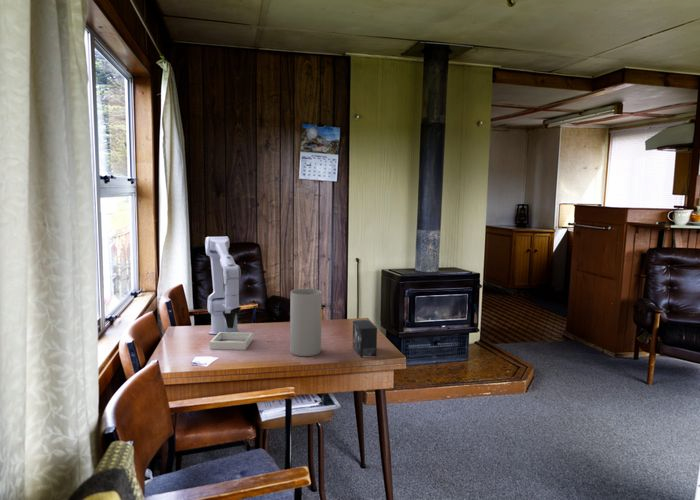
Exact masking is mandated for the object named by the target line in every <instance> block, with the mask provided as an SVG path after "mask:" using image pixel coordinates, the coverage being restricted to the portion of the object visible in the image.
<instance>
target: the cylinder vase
mask: <svg viewBox="0 0 700 500" xmlns="http://www.w3.org/2000/svg"><path fill="white" fill-rule="evenodd" d="M322 294H323V293H322V291H321V290H319V289H315V288H299V289H298V288H297V289H293V290H290V302H289V303H290V306H289V307H290V309H289V310H290V311H289V315H290V316H289V317H290V318H289V328H290V329H289V352H290V353H291V354H292V355H294V356H297V357H312V356H316V355H319V354H320V353H321V351H322V301H323V299H322V298H323V297H322Z"/></svg>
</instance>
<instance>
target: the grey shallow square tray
mask: <svg viewBox="0 0 700 500" xmlns="http://www.w3.org/2000/svg"><path fill="white" fill-rule="evenodd" d="M253 336H254V334H253V332H238V331H236V332H219V333H218V334H215V336H214V337H213V338H212V339H211V340H210V341H209V350H241V351H242V350H245V351H246V350H247V348H248V347H249V346H250V344H251V342H252V341H253V338H254V337H253ZM221 340H227V341H242V342H225V341H221Z"/></svg>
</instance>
